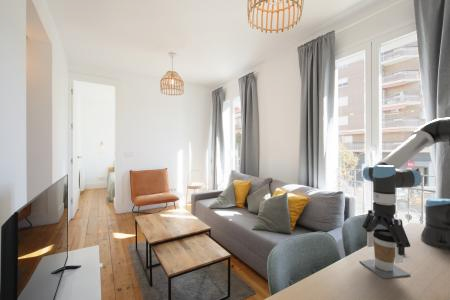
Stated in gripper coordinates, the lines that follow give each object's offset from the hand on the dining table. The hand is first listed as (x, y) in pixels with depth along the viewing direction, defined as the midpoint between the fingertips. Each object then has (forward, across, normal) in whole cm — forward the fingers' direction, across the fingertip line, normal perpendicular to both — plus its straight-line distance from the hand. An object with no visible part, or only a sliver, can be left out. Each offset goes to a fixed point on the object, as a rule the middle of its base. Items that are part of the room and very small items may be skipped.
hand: (383, 253), depth 90 cm
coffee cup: (+6, 0, 0) cm, 6 cm away
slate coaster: (+6, 0, 0) cm, 6 cm away
